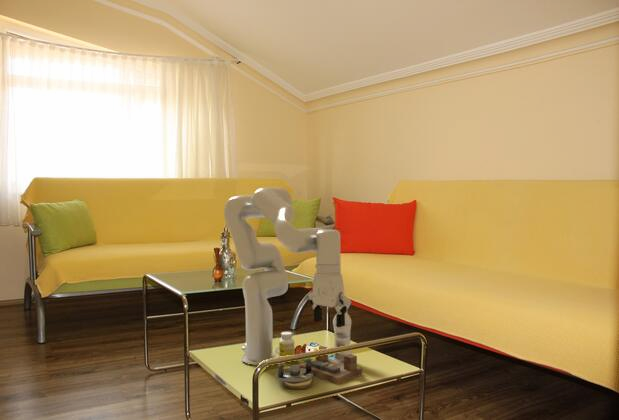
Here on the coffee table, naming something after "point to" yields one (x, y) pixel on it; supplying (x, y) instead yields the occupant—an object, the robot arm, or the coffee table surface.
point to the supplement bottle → (286, 344)
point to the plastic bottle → (342, 337)
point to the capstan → (296, 376)
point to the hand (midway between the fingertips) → (329, 323)
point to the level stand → (334, 368)
